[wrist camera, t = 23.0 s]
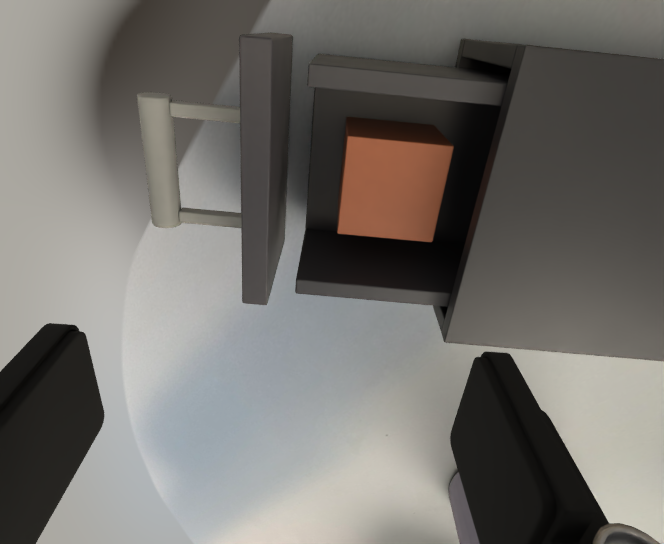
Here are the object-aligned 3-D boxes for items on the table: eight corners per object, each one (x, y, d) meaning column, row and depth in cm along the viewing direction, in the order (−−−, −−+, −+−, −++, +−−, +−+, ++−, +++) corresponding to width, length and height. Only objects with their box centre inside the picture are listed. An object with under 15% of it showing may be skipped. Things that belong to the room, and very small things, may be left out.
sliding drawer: (186, 232, 27) (139, 294, 21) (170, 22, 22) (98, 20, 15) (478, 258, 28) (518, 327, 21) (535, 60, 22) (614, 73, 16)
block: (337, 200, 25) (337, 234, 21) (346, 116, 23) (347, 135, 19) (418, 208, 25) (432, 242, 21) (434, 124, 23) (454, 145, 19)
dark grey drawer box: (416, 255, 29) (444, 342, 21) (461, 38, 22) (526, 44, 15) (633, 275, 29) (742, 368, 21) (736, 67, 23) (946, 88, 15)
